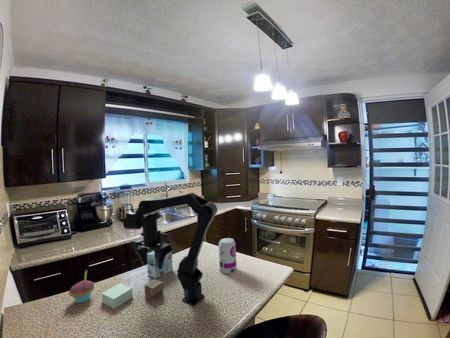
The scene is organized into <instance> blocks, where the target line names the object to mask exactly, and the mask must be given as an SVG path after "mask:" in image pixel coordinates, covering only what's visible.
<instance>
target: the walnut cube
mask: <svg viewBox="0 0 450 338" xmlns="http://www.w3.org/2000/svg"><path fill="white" fill-rule="evenodd" d="M163 285H164V284H163V281H160V280H158V279H154V278H153V279H151V281H149V282H147V283H146V284H144V285H143V287H144V298H146V299H149V300H152V301H155V300H156V299H158V298H160V297H161V296H162V295H163V294H164V290H163V289H164V286H163Z"/></svg>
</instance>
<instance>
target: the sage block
mask: <svg viewBox="0 0 450 338" xmlns="http://www.w3.org/2000/svg"><path fill="white" fill-rule="evenodd" d="M133 295H134V294H133V288H132V287H131V286H128V285H126V284H124V283H121V282H120V283H117V284H116V285H114V286H112V287H110V288H109V289H107V290H105V291H103V292H101V302H102V304H104V305H106V306H108V307H110V308H112V309H116V308H118V307H119V306H121V305H122V304H124V303H125V302H127V301H128V300H130V299H132V298H133V297H134V296H133Z"/></svg>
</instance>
